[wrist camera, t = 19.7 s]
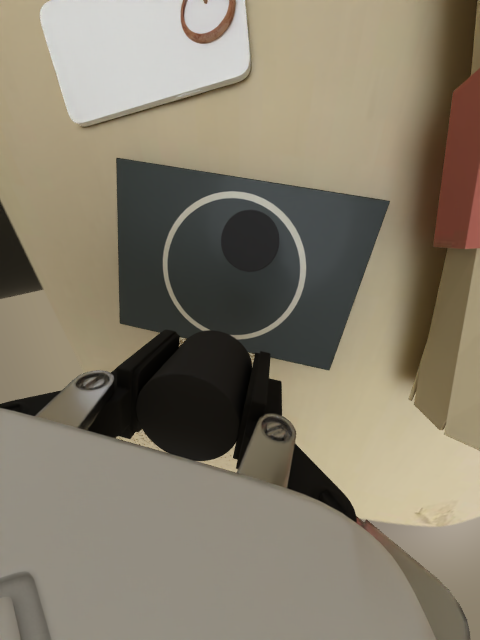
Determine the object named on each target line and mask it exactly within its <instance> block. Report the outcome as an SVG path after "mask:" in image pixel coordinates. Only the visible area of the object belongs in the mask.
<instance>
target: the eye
mask: <svg viewBox="0 0 480 640" xmlns="http://www.w3.org/2000/svg"><path fill="white" fill-rule="evenodd" d="M221 247H222V251H223V254H224V256H225V258H226V259H227V261H228V262H229V263H230V264H231V265H232V266H234V267H235V268H237V269H239V270H242V271H246V272H253V271H258V270H261V269H263V268H265V267H266V266H267V265H269V264H270V263H271V262H272V260H273V259H274V258H275V256H276V254H277V251H278V248H279V233H278V230H277V227H276V225H275V223H274V222H273V220H272V219H271V218H270V217H269V216H267V215H266V214H264V213H263V212H260V211H257V210H244V211H241V212H238V213H237V214H235V215H234V216H232V217H231V218H230V219H229V220H228V222H227V223H226V225H225V226H224V228H223V231H222V235H221Z"/></svg>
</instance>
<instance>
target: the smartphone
mask: <svg viewBox="0 0 480 640" xmlns="http://www.w3.org/2000/svg"><path fill="white" fill-rule="evenodd" d="M182 2H183V0H51V1H48V2H46V3H45V4H44V5H43V6H42V8H41V10H40V21H41V25H42V29H43V32H44V35H45V39H46V42H47V45H48V48H49V52H50V55H51V58H52V62H53V65H54V68H55V72H56V75H57V78H58V81H59V85H60V88H61V91H62V95H63V98H64V101H65V105H66V108H67V111H68V114H69V116H70V118H71V119H72V120H73V121H74V122H75V123H77V124H79V125H81V126H90V125H94V124H97V123H100V122H104V121H107V120H111V119H114V118H118V117H121V116H124V115H128V114H131V113H135V112H138V111H141V110H145V109H148V108H152V107H155V106H158V105H162V104H165V103H169V102H172V101H175V100H179V99H182V98H186V97H189V96H192V95H196V94H199V93H203V92H206V91H210V90H213V89H216V88H220V87H223V86H227V85H230V84H233V83H237V82H240V81H242V80H244V79H245V78H246V77H247V76H248V74H249V72H250V68H251V55H250V45H249V35H248V24H247V14H246V4H245V0H236V6H235V12H234V16H233V19H232V22H231V24H230V26H229V27H228V29H227V30H226V31H225V32H224V33H223V35H222V36H220V37H219V38H218V39H216V40H215V41H212V42H210V43H205V44H200V43H196V42H194V41H192V40H191V39H189V38H188V37H187V36H186V34H185V33H184V31H183V28H182V24H181V6H182ZM228 6H229V0H207V4H205V3H204V1H203V0H188V1H187V3H186V6H185V11H184V21H185V24H186V25H187V27H188V28H189V29H190V30H191V31H192V32H195V33H199V34H203V33H208V32H210V31H212V30H213V29H215V28H216V27H217V26H218V25H219V24H220V23H221V22H222V20H223V19H224V17H225V15H226V13H227V10H228Z"/></svg>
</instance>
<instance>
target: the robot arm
mask: <svg viewBox="0 0 480 640" xmlns="http://www.w3.org/2000/svg"><path fill="white" fill-rule="evenodd" d="M179 338H180V337H179V335H177V332H176V331H171V330H167V329H165V330H164V331H162V332H161V333H160V334H158V335H157V336H156V337H155V338H153V339H152V340H151V341H150V342H148V343H147V344H146V345H145V346H143V347H142V348H141V349H140V350H138V351H137V352H136V353H135V354H133V355H132V356H131V357H129V358H128V359H127V360H126V361H124V362H123V363H122V364H121V365H119V366H118V367H117V368H116V369H115V370H114V371H112V372H111V373H110V372H107V371H100V370H96V371H90V372H86V373H83V374H82V375H79V376H78V377H76V378H75V379H74V380H73V381H72V382H70V383H69V384H68V385H67V386H66V387H65V388H64V389H63V390H62V391H57V392H53V393H47V394H43V395H38V396H33V397H28V398H24V399H19V400H15V401H10V402H6V403H2V404H0V640H470V631H469V626H468V622H467V619H466V617H465V615H464V613H463V610H462V608H461V606H460V604H459V603H458V602H457V600H456V599H455V598H454V596H453V595H452V593H451V592H450V591H449V589H447V587H445V586H444V585H443V584H442V582H440V580H439V579H437V578H436V577H435V576H434V575H433V574H431V573H430V572H429V571H428V570H426V569H425V568H424V567H423V566H422V565H421V564H419V563H418V562H417V561H416V560H414V559H413V558H412V557H411V556H410V555H409V554H407V553H406V552H405V551H404V550H403V549H401V548H400V547H399V546H398V545H396V544H395V543H394V542H393V541H392V540H390V539H389V538H388V537H387V536H386V535H384V534H383V533H382V532H381V531H380V530H379V529H377V528H376V527H375V526H374V525H373V524H371V523H370V522H369V521H368V520H367V519H366V521H365V522H363V521H362V520H360V519H359V518H358V517H357V516H356V514H355V510H354V508H353V506H352V504H351V502H350V501H349V500H348V498H347V497H346V496H345V495H344V493H343V492H342V491H341V490H340V489H339V488H338V487H337V486H336V485H335V484H334V483H333V482H332V481H331V480H330V479H329V478H328V477H327V476H326V475H325V474H324V473H323V472H322V471H321V470H320V469H319V468H318V467H317V466H316V465H315V464H314V463H313V462H312V460H311V459H310V458H309V457H308V456H307V455H306V454H305V453H304V452H303V451H302V450H301V449H300V448H299V447H298V446H297V445H296V444H295V439H296V430H295V428H294V426H293V425H292V423H291V422H290V421H289V420H287V419H286V418H285V417H283V416H282V386H281V381H277V380H273V379H269V367H270V355H271V353H268V352H264V351H260V353H255V358H254V362H253V367H252V371H251V376H250V381H249V386H248V390H247V395H246V400H245V405H244V409H243V414H242V419H241V424H240V430H239V436H238V439H237V441H236V446H235V451H234V455H233V458H234V459H237V460H238V461H237V466H236V469H238V471H237V473H235V472H232V471H228V470H225V469H221V468H218V467H214V466H211V465H207V464H204V463H201V462H197V461H194V460H190V459H187V458H183V457H180V456H176V455H173V454H169V453H165V452H162V451H158V450H155V449H151V448H148V447H144V446H141V445H137V444H133V443H130V442H126V441H123V440H119V439H116V437H117V436H121V437H124V438H128V439H131V437H132V436H133V435H134V433H135V432H139V431H140V430H141V429H142V427H141V425H140V423H139V420H138V417H137V413H136V403H137V398H138V395H139V393H140V391H141V389H142V388H143V386H144V385H145V384H146V383H147V382H148V381H149V380H150V379H151V378H152V376H153V375H154V374H155V373H156V372H157V371H158V370H159V369H160V368H161V367H162V366H163V364H164V363H165V362H166V361H167V360H168V359H169V358H170V357H171V356H172V355H173V354H174V353H175V351H176V350H177V349H178V348H179Z"/></svg>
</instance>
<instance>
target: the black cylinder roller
mask: <svg viewBox="0 0 480 640" xmlns="http://www.w3.org/2000/svg"><path fill="white" fill-rule="evenodd" d="M251 371H252V362H251V358H250V356H249V353H248V352H247V350H246V348H245V347H244V346H243V345H242V344H241V343H240V342H239V341H238V340H237V339H236V338H234V337H233V336H231V335H229V334H227V333H224V332H220V331H215V330H207V331H201V332H198V333H195V334H193V335H191V336H190V337H189V338H188V339H187V340H186V341H185V342H184V343H183V344H182V345H181V346H180V347H179V348H178V349H177V350H176V351H175V353H174V354H173V355H172V356H171V357H170V358H169V359H168V360H167V361H166V362H165V363H164V364H163V366H162V367H161V368H160V369H159V370H158V371H157V372H156V373H155V374H154V375H153V376H152V378H151V379H150V380H149V381H148V382H147V383H146V384H145V385H144V386H143V388H142V389H141V391H140V393H139V395H138V398H137V403H136V413H137V417H138V420H139V423H140V425H141V427H142V429H143V431H144V432H145V434H146V435H147V436H148V437H149V439H150V440H151V441H152V442H153V443H155V444H156V445H157V446H158V447H160V448H161V449H163V450H164V451H166V452H168V453H169V454H173V455H176V456H180V457H183V458H187V459H190V460H194V461H206V460H212V459H215V458H218V457H220V456H222V455H224V454H225V453H227V452H228V451H229V450H230V449H231V448H232V447H233V446H234V445H235V443H236V441H237V439H238V436H239V430H240V424H241V419H242V414H243V409H244V405H245V400H246V395H247V390H248V386H249V381H250V376H251Z"/></svg>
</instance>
